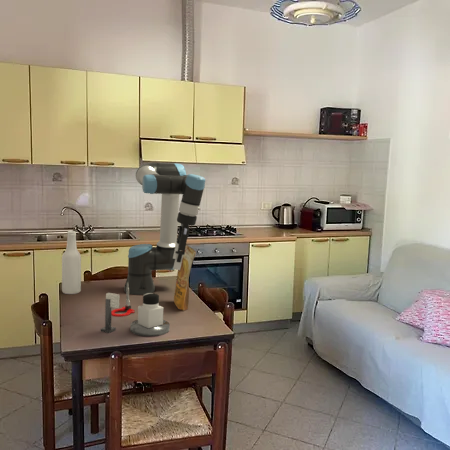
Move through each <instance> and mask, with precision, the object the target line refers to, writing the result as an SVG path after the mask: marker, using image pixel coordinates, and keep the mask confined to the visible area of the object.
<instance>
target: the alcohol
mask: <svg viewBox="0 0 450 450" xmlns="http://www.w3.org/2000/svg"><path fill="white" fill-rule="evenodd" d="M66 233H67V239H66V248H65V251H64V252H63V253H62V257H61V291H62V293H63V294H65V295H76V294H79V293H80V292H81V291H82V256H81V253H80V252H79V250H78V248H77V234H76V233H77V231H75V230H68V231H67V232H66Z"/></svg>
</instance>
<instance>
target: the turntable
mask: <svg viewBox="0 0 450 450" xmlns="http://www.w3.org/2000/svg"><path fill="white" fill-rule="evenodd" d="M170 324H171V323H169V322H168V321H167V320H165V319H163V325H160V326H156V327H152V328H146V327H144V326H142V325H140V324H138V319H136V320H134V321H132V322H130V325H129V326H130V327H129V328H130V332H131V333H132V334H133V335H136V336H139V337H159V336H163V335H165V334H168V333H169V332H170Z"/></svg>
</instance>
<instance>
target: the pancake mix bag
mask: <svg viewBox="0 0 450 450" xmlns="http://www.w3.org/2000/svg"><path fill="white" fill-rule="evenodd" d="M181 251H182V250H181ZM196 253H197V252H196V250H195V249H194V248H193V247H191V246H189V245H188V244H186V247H185V254H184V255H183V259H182V264H181V268H180V270H177V273H176V280H175V281H176V282H175V289H174V293H173V294H174V295H173V296H174V297H173V302H174V305H175V306H176V307H177V309H178V311H187V310H188V309H189V301H190V300H189V299H190V283H189V280H190V279H189V277H190V274H191V270H192V265H193V262H194V259H195V257H196Z"/></svg>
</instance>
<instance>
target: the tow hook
mask: <svg viewBox="0 0 450 450" xmlns="http://www.w3.org/2000/svg"><path fill="white" fill-rule="evenodd" d="M125 294H126V300H125V306H122V307H120V308H114V309H111V317H117V318H119V317H120V318H123V317H127V316H129V315H131V314H134V313H135V309H133V308H132V305H131V300H130V294H129V284H128V283H127V287H126V292H125ZM117 312H118V313H117ZM119 312H124V313H119Z"/></svg>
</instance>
